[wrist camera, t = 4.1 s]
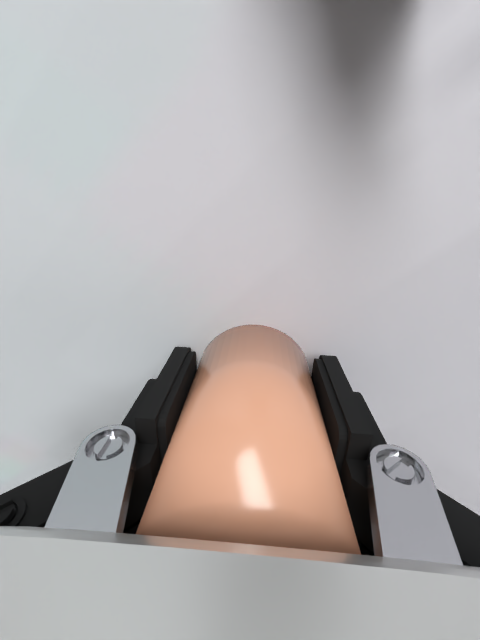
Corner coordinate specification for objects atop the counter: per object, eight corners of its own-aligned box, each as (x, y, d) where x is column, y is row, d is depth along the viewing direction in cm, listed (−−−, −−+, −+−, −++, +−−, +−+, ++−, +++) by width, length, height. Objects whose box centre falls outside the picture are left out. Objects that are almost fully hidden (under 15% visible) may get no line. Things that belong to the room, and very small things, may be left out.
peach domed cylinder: (198, 321, 11) (112, 491, 5) (314, 328, 11) (392, 513, 4) (200, 414, 13) (139, 631, 6) (302, 421, 13) (344, 654, 6)
